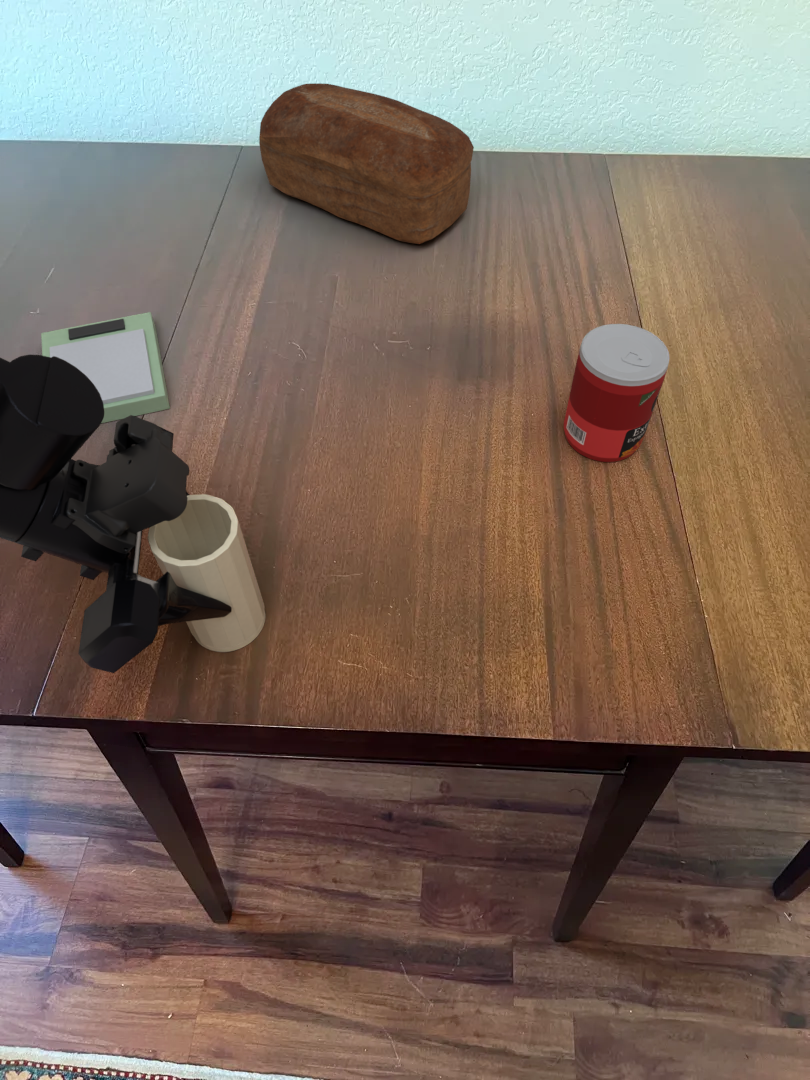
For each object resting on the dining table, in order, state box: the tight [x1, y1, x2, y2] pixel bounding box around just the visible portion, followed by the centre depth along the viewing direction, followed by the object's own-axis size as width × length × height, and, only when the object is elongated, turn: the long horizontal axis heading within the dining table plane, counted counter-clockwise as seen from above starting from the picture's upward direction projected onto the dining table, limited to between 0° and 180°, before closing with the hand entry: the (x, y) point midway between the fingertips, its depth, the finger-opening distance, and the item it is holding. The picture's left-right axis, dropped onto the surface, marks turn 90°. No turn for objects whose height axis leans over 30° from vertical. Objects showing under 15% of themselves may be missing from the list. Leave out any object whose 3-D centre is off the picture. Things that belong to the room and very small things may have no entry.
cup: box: [147, 493, 267, 653], centre depth 61 cm, size 6×6×13 cm
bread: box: [258, 82, 475, 245], centre depth 99 cm, size 14×28×12 cm, turn 55°
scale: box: [40, 311, 171, 424], centre depth 83 cm, size 14×12×3 cm
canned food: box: [563, 323, 670, 463], centre depth 74 cm, size 8×8×11 cm
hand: (229, 575), depth 61 cm, fingers closed on cup, 6 cm apart
